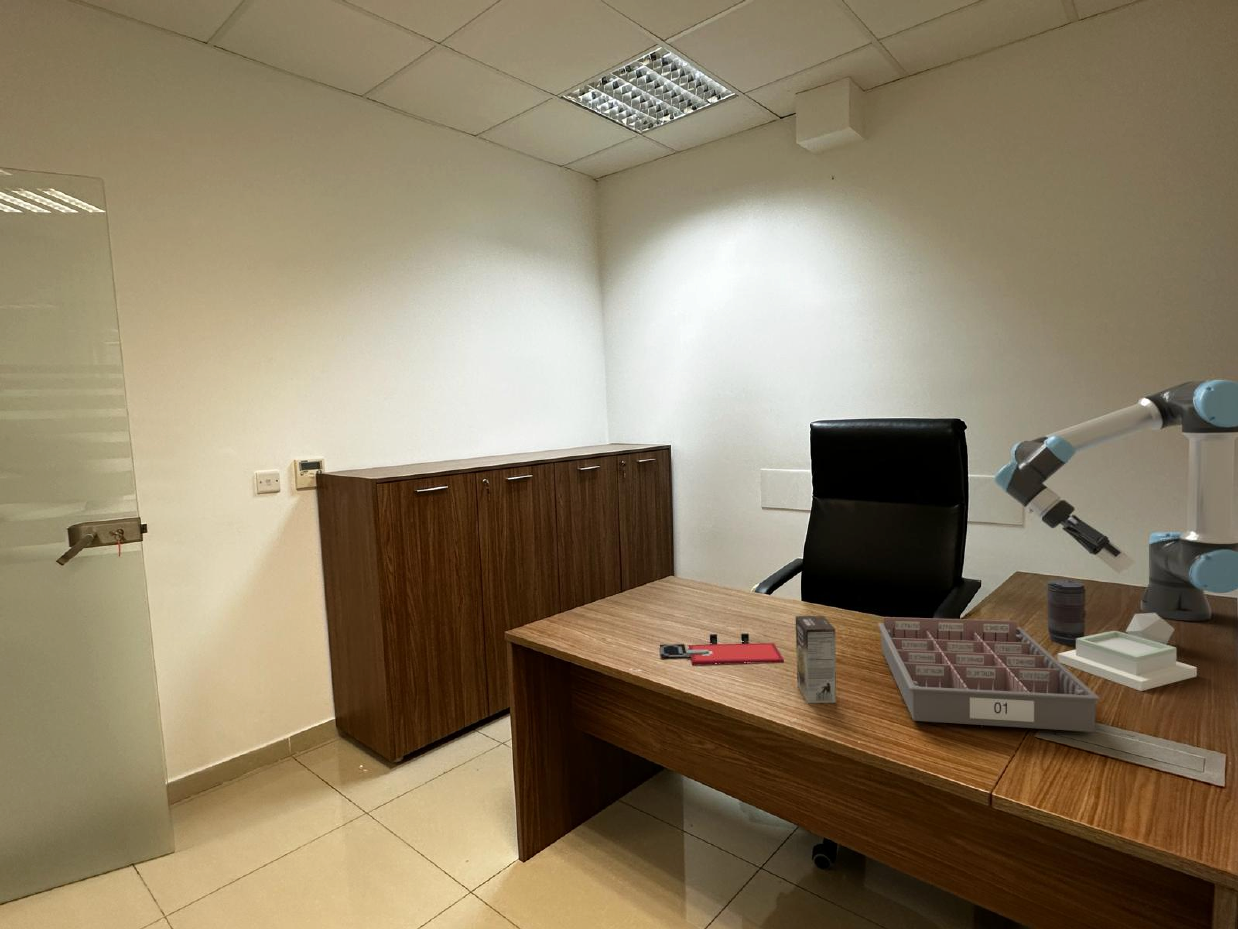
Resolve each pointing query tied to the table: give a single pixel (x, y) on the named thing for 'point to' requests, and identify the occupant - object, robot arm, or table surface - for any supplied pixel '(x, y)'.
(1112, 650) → the plinth
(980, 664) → the organizer tray
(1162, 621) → the white polyhedron
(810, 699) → the coffee box
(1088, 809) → the table surface
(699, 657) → the red board with handle
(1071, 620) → the camera lens
